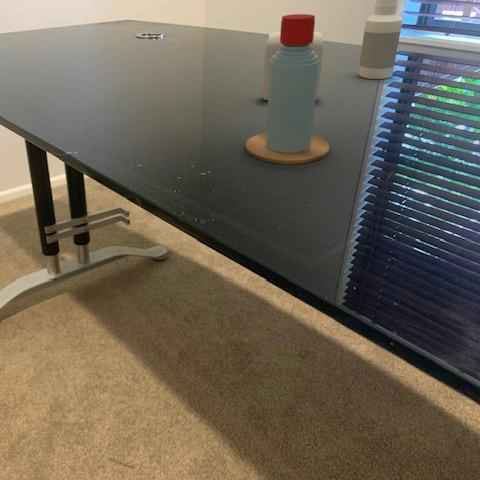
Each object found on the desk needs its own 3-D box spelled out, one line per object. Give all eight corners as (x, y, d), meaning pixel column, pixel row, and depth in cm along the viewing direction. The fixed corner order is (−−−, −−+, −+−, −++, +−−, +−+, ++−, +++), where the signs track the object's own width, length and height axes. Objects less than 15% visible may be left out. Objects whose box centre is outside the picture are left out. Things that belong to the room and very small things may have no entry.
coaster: (281, 129, 81) (282, 125, 81) (346, 147, 73) (346, 144, 73) (228, 148, 75) (228, 144, 75) (292, 171, 67) (292, 167, 67)
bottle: (285, 134, 78) (294, 14, 69) (319, 144, 73) (334, 18, 64) (256, 145, 74) (262, 21, 66) (290, 156, 70) (302, 25, 61)
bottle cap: (293, 38, 69) (295, 13, 67) (319, 41, 66) (321, 15, 64) (273, 43, 67) (275, 17, 65) (298, 46, 64) (300, 19, 62)
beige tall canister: (357, 79, 105) (371, -18, 96) (357, 71, 110) (370, -21, 101) (393, 79, 103) (411, -19, 94) (391, 72, 108) (408, -22, 99)
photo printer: (317, 95, 96) (324, 26, 90) (318, 102, 93) (326, 30, 86) (262, 95, 98) (265, 28, 92) (261, 102, 95) (265, 32, 88)
